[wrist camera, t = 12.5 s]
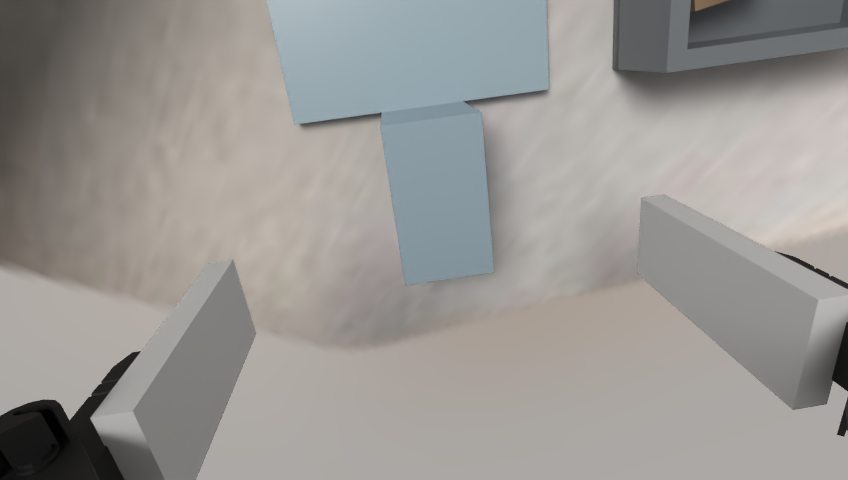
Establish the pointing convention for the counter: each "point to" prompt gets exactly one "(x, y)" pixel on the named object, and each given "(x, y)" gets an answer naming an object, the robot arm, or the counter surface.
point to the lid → (418, 103)
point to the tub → (722, 32)
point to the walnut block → (703, 4)
